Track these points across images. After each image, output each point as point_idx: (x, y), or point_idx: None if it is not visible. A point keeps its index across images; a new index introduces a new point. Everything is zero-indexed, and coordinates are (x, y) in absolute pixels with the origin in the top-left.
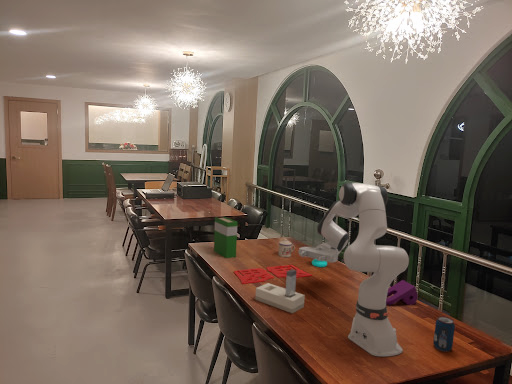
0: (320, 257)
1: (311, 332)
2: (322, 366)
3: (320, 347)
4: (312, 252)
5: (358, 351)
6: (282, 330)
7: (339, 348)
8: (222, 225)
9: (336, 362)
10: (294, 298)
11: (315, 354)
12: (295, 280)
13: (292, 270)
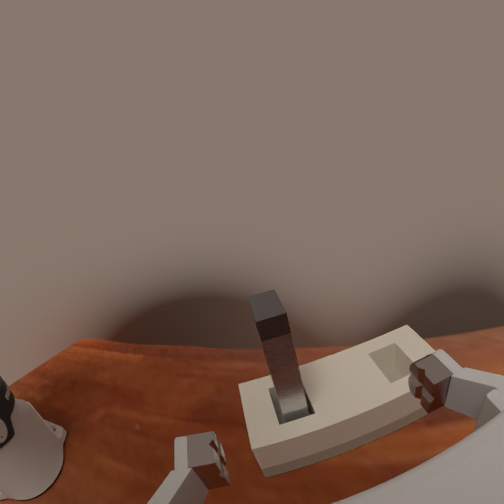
0: (175, 455)
1: (144, 395)
2: (90, 348)
3: (106, 374)
4: (409, 473)
5: (44, 408)
6: (201, 355)
7: (75, 394)
8: None
9: (74, 366)
10: (253, 398)
11: (108, 357)
12: (268, 366)
13: (268, 308)
